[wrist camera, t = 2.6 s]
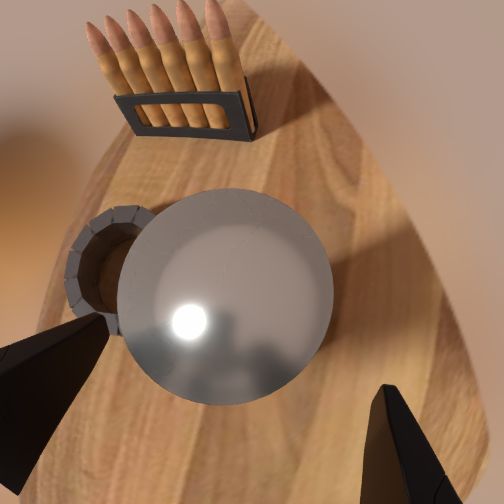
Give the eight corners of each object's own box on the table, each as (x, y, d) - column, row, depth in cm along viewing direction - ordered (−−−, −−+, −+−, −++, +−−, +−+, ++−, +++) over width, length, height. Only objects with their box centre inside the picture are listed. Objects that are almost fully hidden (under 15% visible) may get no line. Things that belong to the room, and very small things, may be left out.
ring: (104, 355, 18) (82, 353, 16) (76, 254, 21) (57, 243, 19) (208, 303, 19) (195, 295, 16) (164, 202, 22) (150, 184, 19)
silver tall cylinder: (252, 385, 17) (165, 436, 5) (219, 320, 18) (96, 248, 7) (320, 350, 17) (376, 334, 5) (285, 285, 18) (264, 156, 7)
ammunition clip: (259, 124, 23) (231, -12, 12) (253, 142, 22) (221, 0, 11) (144, 120, 25) (84, 18, 14) (135, 136, 24) (69, 33, 13)
